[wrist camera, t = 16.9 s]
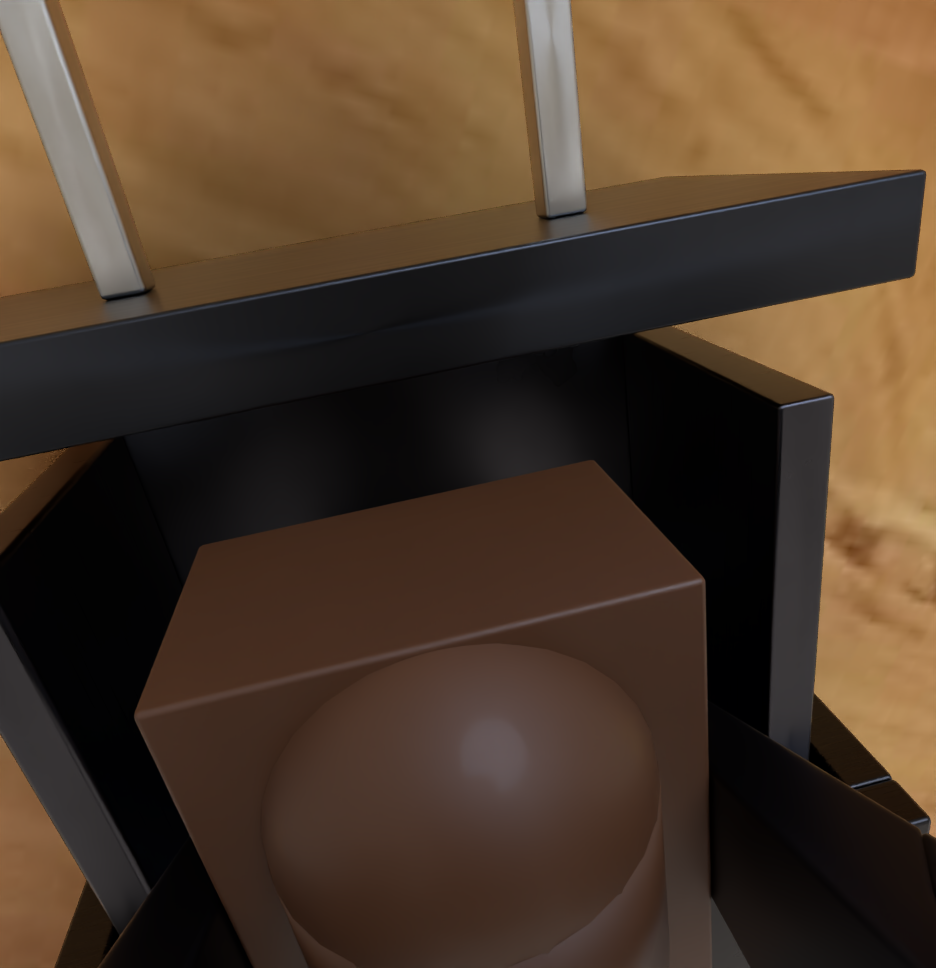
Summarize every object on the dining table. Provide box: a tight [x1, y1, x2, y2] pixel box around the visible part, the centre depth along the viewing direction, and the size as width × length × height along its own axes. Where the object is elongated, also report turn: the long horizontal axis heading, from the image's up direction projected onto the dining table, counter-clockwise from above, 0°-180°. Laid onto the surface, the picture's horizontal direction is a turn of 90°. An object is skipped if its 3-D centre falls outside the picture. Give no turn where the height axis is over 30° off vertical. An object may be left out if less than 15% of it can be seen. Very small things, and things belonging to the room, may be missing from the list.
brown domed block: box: [134, 460, 712, 968], centre depth 8 cm, size 6×5×4 cm
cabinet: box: [55, 694, 931, 968], centre depth 17 cm, size 14×14×9 cm
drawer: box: [0, 0, 926, 935], centre depth 12 cm, size 18×13×7 cm
